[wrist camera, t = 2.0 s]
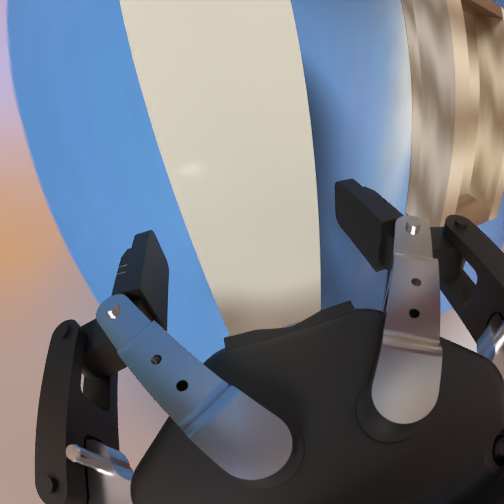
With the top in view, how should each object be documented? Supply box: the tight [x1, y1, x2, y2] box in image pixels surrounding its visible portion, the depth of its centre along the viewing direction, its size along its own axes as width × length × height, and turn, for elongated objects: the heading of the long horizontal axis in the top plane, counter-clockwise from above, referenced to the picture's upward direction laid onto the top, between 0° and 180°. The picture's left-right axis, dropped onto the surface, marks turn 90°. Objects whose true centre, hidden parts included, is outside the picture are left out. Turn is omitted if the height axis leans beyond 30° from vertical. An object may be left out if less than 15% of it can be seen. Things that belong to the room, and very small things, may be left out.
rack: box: [401, 0, 504, 227], centre depth 13 cm, size 18×9×4 cm, turn 11°
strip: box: [120, 0, 321, 336], centre depth 11 cm, size 14×4×8 cm, turn 11°
